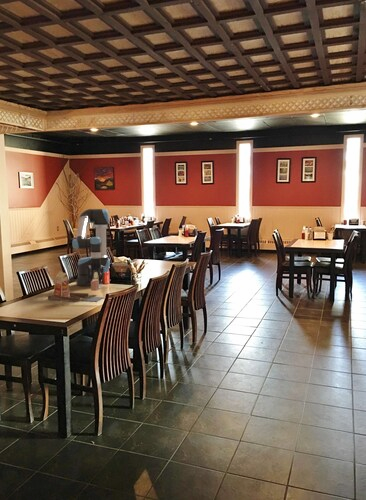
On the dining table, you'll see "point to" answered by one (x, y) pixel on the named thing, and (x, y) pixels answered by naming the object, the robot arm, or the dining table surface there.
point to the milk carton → (61, 285)
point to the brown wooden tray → (68, 297)
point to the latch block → (95, 285)
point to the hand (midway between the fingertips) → (96, 288)
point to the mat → (92, 299)
